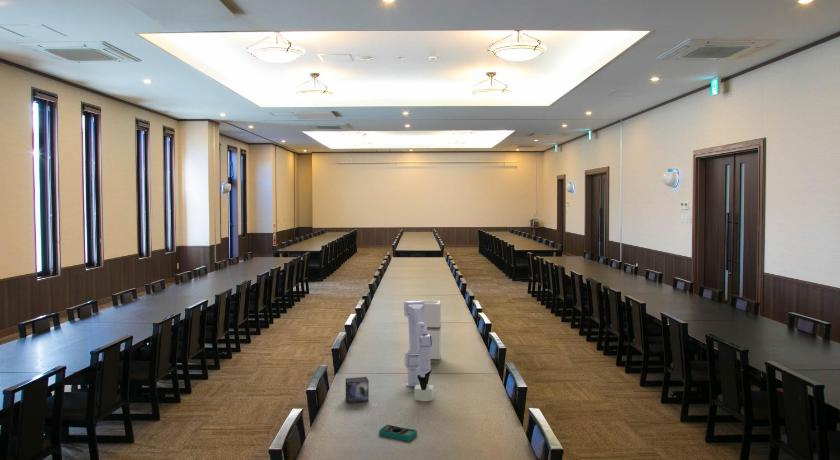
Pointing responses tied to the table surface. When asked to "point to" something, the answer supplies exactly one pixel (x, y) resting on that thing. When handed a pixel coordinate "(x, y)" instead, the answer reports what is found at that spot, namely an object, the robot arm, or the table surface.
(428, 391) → the pale green block
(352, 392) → the small box
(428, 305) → the white rectangular tower
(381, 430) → the digital multimeter
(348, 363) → the table surface
